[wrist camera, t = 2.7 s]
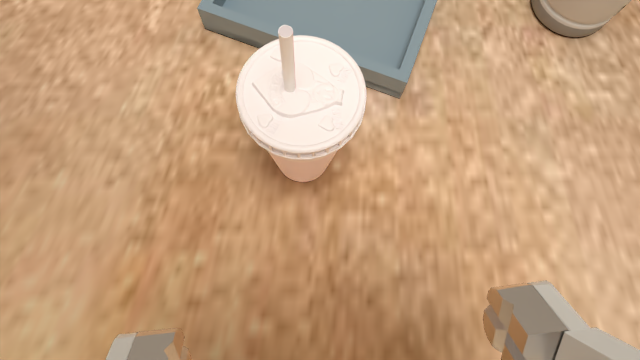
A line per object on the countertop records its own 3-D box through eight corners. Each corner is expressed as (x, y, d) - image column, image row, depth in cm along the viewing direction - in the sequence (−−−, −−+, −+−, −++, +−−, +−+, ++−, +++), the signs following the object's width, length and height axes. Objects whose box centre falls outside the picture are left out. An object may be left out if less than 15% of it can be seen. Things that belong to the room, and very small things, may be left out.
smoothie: (267, 109, 29) (234, -47, 16) (353, 123, 29) (393, -23, 16) (249, 193, 27) (195, 96, 14) (341, 207, 27) (375, 124, 14)
